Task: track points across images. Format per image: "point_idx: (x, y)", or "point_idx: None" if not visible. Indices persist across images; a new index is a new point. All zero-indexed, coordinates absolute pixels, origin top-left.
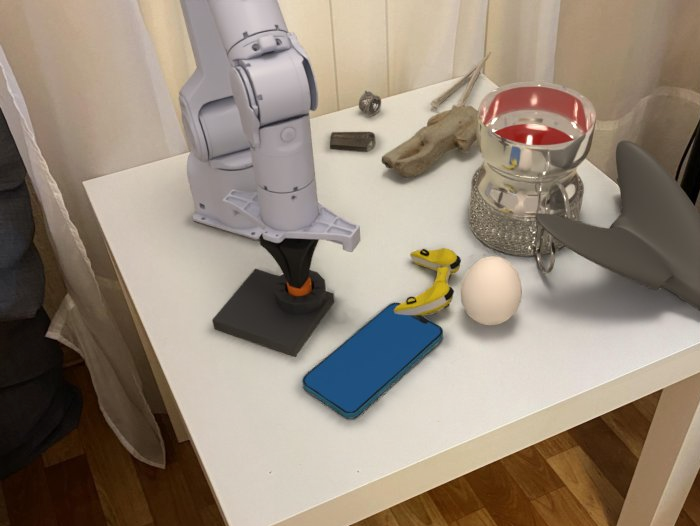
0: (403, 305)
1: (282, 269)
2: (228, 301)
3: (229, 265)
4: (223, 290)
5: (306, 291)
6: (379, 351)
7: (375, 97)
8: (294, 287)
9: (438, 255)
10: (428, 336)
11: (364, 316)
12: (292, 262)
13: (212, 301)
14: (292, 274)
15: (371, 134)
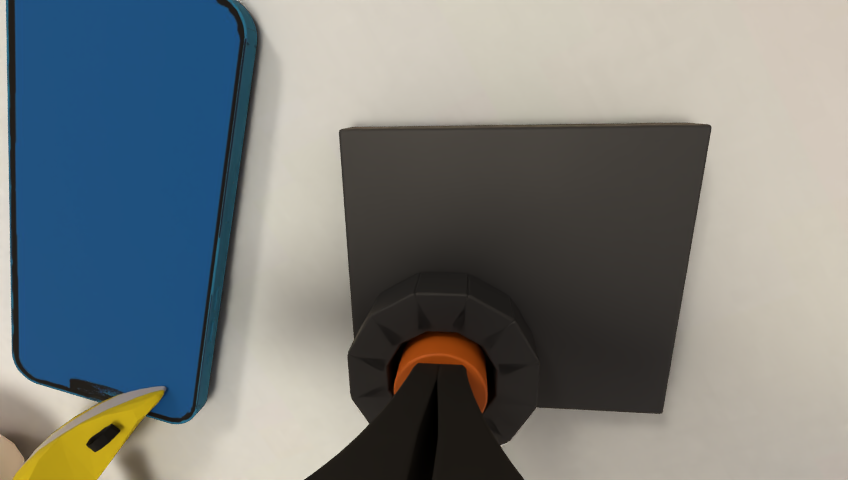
0: (124, 415)
1: (470, 415)
2: (688, 240)
3: (765, 406)
4: (736, 301)
5: (399, 364)
6: (109, 237)
7: None
8: (437, 362)
9: None
10: (35, 340)
11: (263, 355)
12: (375, 466)
13: (754, 242)
14: (416, 404)
15: None
